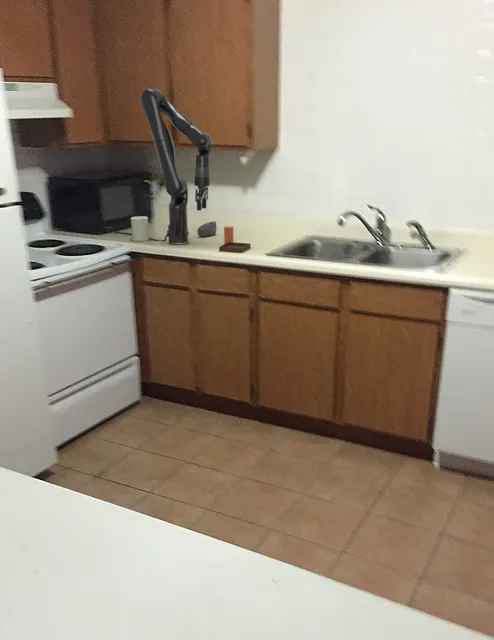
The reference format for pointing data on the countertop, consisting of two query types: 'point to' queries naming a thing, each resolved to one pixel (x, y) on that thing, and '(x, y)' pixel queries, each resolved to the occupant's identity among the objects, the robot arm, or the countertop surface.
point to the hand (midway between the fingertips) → (201, 209)
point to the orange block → (228, 234)
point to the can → (140, 228)
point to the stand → (235, 247)
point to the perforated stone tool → (207, 229)
